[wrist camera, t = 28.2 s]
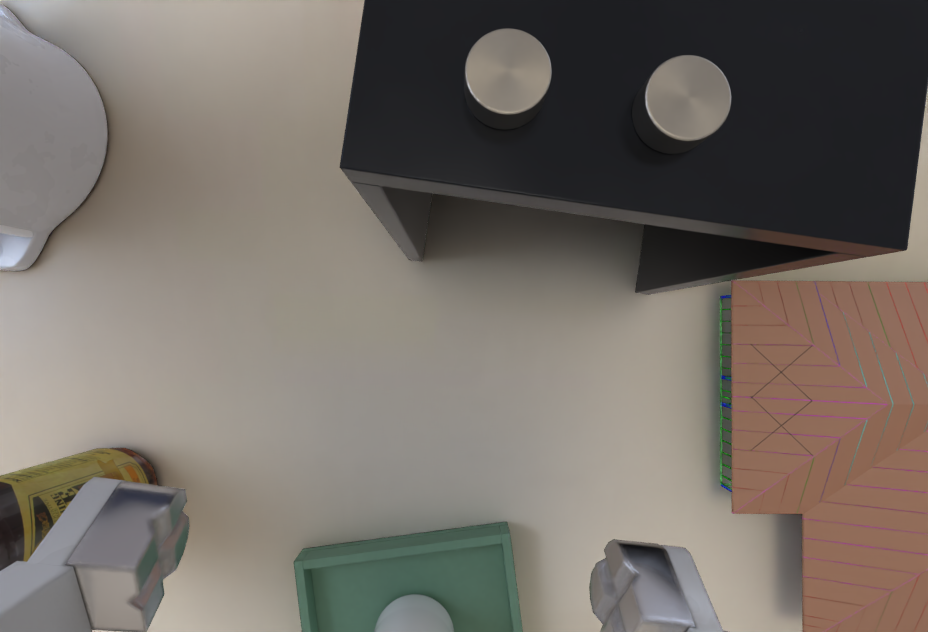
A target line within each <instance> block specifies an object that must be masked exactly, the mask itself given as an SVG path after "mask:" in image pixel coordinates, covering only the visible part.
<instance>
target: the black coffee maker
mask: <svg viewBox="0 0 928 632" xmlns="http://www.w3.org/2000/svg"><path fill="white" fill-rule="evenodd" d="M927 86H928V0H365V2H364V9H363V15H362V22H361V29H360V35H359V42H358V49H357V55H356V62H355V69H354V75H353V82H352V89H351V95H350V102H349V109H348V115H347V122H346V129H345V135H344V142H343V149H342V155H341V162H340V168H341V170H342V171H343V172H344V174H345V175H346V176H347V178H348V179H349V180H350V181H351V183H352V184H353V186H354V187H355V188H356V190H357V191H358V192H359V194H360V195H361V196H362V198H363V199H364V200H365V202H366V203H367V204H368V206H369V207H370V208H371V210H372V211H373V212H374V214H375V215H376V216H377V218H378V219H379V220H380V222H381V223H382V224H383V226H384V227H385V229H386V230H387V231H388V233H389V234H390V235H391V237H392V238H393V239H394V241H395V242H396V243H397V245H398V246H399V247H400V249H401V250H402V251H403V253H404V254H405V255H406V257H407V258H408V259H409V260H412V261H419V262H422V261H423V256H424V249H425V242H426V235H427V228H428V221H429V215H430V208H431V201H432V194H440V195H447V196H454V197H461V198H468V199H474V200H481V201H488V202H495V203H502V204H509V205H516V206H523V207H529V208H536V209H543V210H550V211H557V212H564V213H571V214H578V215H585V216H591V217H598V218H605V219H612V220H619V221H626V222H633V223H640V224H645V225H644V232H643V240H642V247H641V254H640V261H639V269H638V276H637V283H636V291H635V292H636V293H641V294H647V295H649V294H655V293H661V292H667V291H673V290H678V289H684V288H690V287H696V286H702V285H707V284H713V283H719V282H725V281H731V280H736V279H742V278H748V277H754V276H760V275H765V274H771V273H777V272H783V271H789V270H795V269H800V268H806V267H812V266H818V265H824V264H829V263H835V262H841V261H847V260H853V259H858V258H864V257H870V256H876V255H882V254H888V253H893V252H899V251H905V250H907V246H908V238H909V230H910V222H911V214H912V206H913V198H914V190H915V182H916V174H917V166H918V158H919V150H920V142H921V134H922V126H923V118H924V110H925V102H926V94H927Z"/></svg>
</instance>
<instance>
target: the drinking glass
mask: <svg viewBox="0 0 928 632" xmlns="http://www.w3.org/2000/svg"><path fill="white" fill-rule="evenodd" d="M374 632H454V626H453V623H452V620H451V617H450V615H449V614H448V612H447V611H446V609H445V608H444V607H443V606H442V605H441V604H440V603H439V602H438V601H436V600H435V599H433V598H431V597H428V596H425V595H420V594H410V595H405V596H402V597H399V598H397V599H396V600H394V601H392V602H391V603H390V604H389V605H388V606H387V607H386V608H385V609H384V610H383V611H382V613H381V614H380V616H379V618H378V620H377V623H376V626H375V629H374Z"/></svg>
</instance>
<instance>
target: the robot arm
mask: <svg viewBox="0 0 928 632" xmlns="http://www.w3.org/2000/svg"><path fill="white" fill-rule="evenodd" d="M107 139H108V129H107V119H106V113H105V109H104V105H103V102H102V99H101V97H100V94H99V92H98V90H97V88H96V86H95V84H94V82H93V81H92V79H91V78H90V76H89V75H88V73H87V72H86V71H85V70H84V68H83V67H82V66H81V65H80V64H79V63H78V62H77V61H76V60H75V59H74V58H73V57H72V56H70V55H69V54H68V53H67V52H65V51H64V50H62V49H61V48H59V47H57V46H56V45H54V44H52V43H50V42H48V41H46V40H44V39H42V38H40V37H38V36H36V35H34V34H32V33H31V32H29V31H28V30H26V28H25V27H24V26H23V25H22V24H21V22H20V21H19V20H18V19H17V18H16V16H15V15H14V14H13V13H12V12H11V11H10V10H9V9H8V8H7V7H5V6H4V5H2V4H1V3H0V270H6V271H22V270H25V269H27V268H29V267H30V266H31V265H32V264H33V263H34V262H35V260H36V259H37V257H38V256H39V254H40V252H41V250H42V248H43V247H44V245H45V243H46V240H47V238H48V236H49V234H50V233H51V232H52V231H53V229H54V228H55V227H56V226H57V225H59V224H60V223H61V222H62V221H63V220H64V219H66V218H67V217H68V216H69V215H70V214H71V213H73V212H74V211H75V210H76V209H77V208H78V207H79V206H80V204H81V203H82V202H83V201H84V200H85V198H86V197H87V196H88V194H89V193H90V191H91V190H92V188H93V187H94V185H95V183H96V181H97V179H98V177H99V175H100V172H101V169H102V166H103V163H104V160H105V155H106V149H107ZM186 502H187V497H186V490H185V489H181V488H173V487H166V486H159V485H152V484H145V483H137V482H130V481H124V480H116V479H108V478H100V477H93V478H92V479H90V480H89V481H88V482H87V483H85V484H84V485H83V486H82V488H81V489H80V490H79V492H78V493H77V494H76V496H75V497H74V499H73V500H72V501H71V503H70V504H69V505H68V507H67V508H66V509H65V511H64V512H63V513H62V515H61V516H60V518H59V519H58V520H57V522H56V523H55V524H54V526H53V527H52V528H51V530H50V531H49V532H48V534H47V535H46V536H45V538H44V539H43V541H42V542H41V543H40V545H39V546H38V547H37V549H36V550H35V551H34V553H33V554H32V555H31V557H30V558H29V560H28V561H27V562H26V561H16V562H15V563H13V564H11V565H10V566H8V567H6V568H5V569H3V570H1V571H0V632H92V630H108V631H125V632H147V630H148V628H149V626H150V624H151V621H152V619H153V617H154V615H155V613H156V611H157V609H158V607H159V605H160V603H161V600H162V598H163V596H164V588H163V579H164V578H166V577H167V576H169V575H170V574H171V573H173V572H174V571H175V570H176V569H177V566H178V564H179V562H180V560H181V557H182V555H183V552H184V549H185V546H186V542H187V539H188V533H189V517H188V516H187V515H186V514H185V513H184V512H183V511H182V510H183V508H184V506H185V504H186ZM604 552H605V556H606V558H605V559H603V560H601V561H599V562H598V563H596V565H595V567H594V569H593V571H592V573H591V579H590V586H589V588H590V600H591V605H592V610H593V613H594V614H595V615H596V616H597V618H598V619H599V620H600V621H601V623H602V624H603V626H602V628H601V631H600V632H728V631H723V629H722V627H721V624H720V622H719V620H718V617H717V615H716V613H715V610H714V608H713V605H712V603H711V601H710V598H709V596H708V594H707V591H706V589H705V587H704V584H703V582H702V580H701V577H700V575H699V573H698V570H697V568H696V565H695V563H694V561H693V558H692V556H691V554H690V553H689V551H688V550H687V549H686V548H683V547H676V546H666V545H659V544H655V543H645V542H635V541H625V540H616V539H613V540H611V541H610V542H608V544H607V545H606V547H605V549H604Z"/></svg>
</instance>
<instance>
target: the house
mask: <svg viewBox="0 0 928 632" xmlns="http://www.w3.org/2000/svg"><path fill="white" fill-rule="evenodd" d="M723 298H731V309H722V299H723ZM722 310H731V376H722V368H724V367H722V357H730V356H722V345H729V344H722V322H729V321H722ZM724 369H730V368H724ZM722 379H725V380H730V381H731V391H727V390H722ZM722 391H726V392H730V393H731V398H728V397H724V396H722ZM722 397H724V398H728V399H731V400H732V403H723V402H722ZM722 406H724V407H727V408H731V409H732V420H731V419H728V418H725V417H723V416H722ZM722 418H725V419H728V420H730V421H732V432H731V431H729V430H726V429H723V428H722ZM722 429H723V430H725V431H728V432H730V433H732V444H731V443H729V442H727V441H724V440H722ZM722 441H723V442H726V443H728V444H730V445H732V456H731V455H729V454H727V453H725V452H723V451H722ZM722 453H724V454H726V455H728V456H730V457H732V468H731V467H729V466H727V465H725V464H723V463H722ZM722 465H724V466H726V467H728V468H730V469H732V480H731V479H729V478H727V477H726V476H724V475H722ZM722 476H723V477H724V478H726V479H728V480H730V481H731V482H732V484H723V483H722ZM720 485H721V486H722V487H724V488H726V489H727V490H729V491H731V492H732V513H733V514H734V513H736V514H802V611H803V632H928V282H846V281H736V280H732V281H731V295H726V296H720ZM726 485H727V486H726ZM728 486H732V489H731V488H730V487H728Z"/></svg>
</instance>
